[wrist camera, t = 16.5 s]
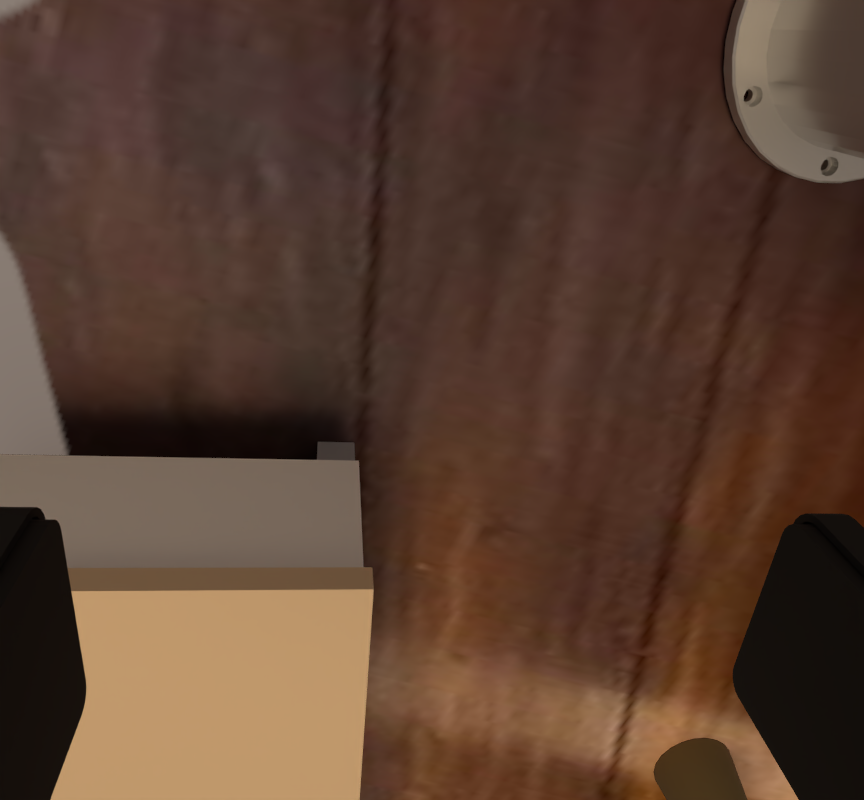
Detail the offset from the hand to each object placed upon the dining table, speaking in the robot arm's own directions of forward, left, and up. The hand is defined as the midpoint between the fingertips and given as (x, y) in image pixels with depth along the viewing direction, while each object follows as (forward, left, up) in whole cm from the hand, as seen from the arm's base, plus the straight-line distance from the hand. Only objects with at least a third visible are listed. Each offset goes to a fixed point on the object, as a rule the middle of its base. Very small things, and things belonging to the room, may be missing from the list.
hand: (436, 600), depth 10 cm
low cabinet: (+20, -9, -28) cm, 36 cm away
